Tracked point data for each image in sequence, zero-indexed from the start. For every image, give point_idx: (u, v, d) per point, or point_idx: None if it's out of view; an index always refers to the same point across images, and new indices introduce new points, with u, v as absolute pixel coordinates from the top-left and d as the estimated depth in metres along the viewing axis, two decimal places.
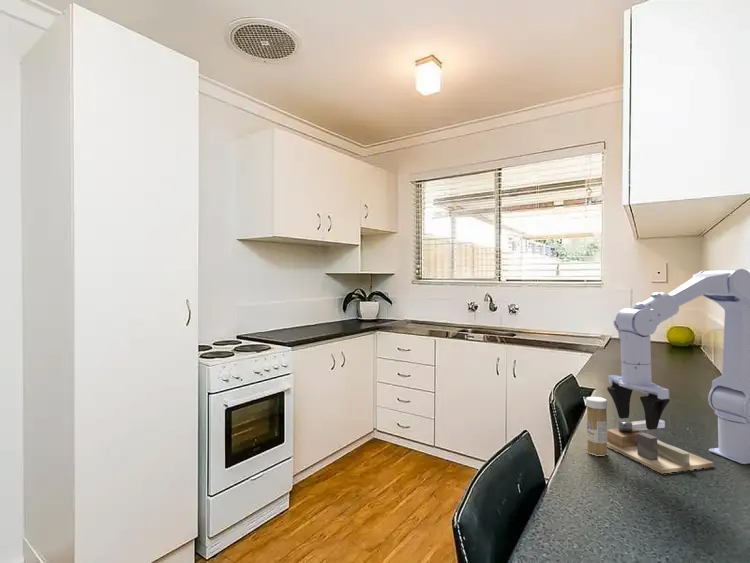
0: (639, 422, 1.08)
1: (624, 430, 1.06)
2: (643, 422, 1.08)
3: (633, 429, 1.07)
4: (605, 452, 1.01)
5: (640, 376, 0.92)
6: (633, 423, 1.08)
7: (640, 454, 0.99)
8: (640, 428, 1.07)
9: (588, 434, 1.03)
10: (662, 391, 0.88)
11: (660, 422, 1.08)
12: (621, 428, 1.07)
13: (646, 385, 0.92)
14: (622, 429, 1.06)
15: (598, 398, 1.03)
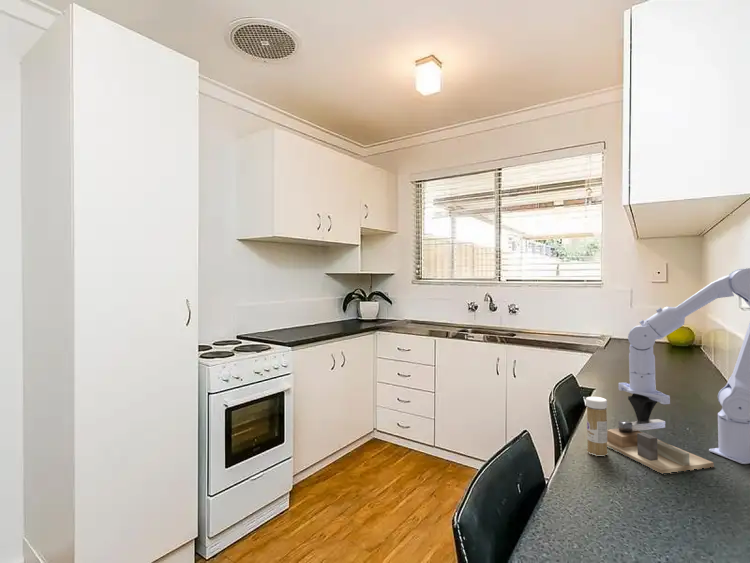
0: (639, 422, 1.08)
1: (624, 430, 1.06)
2: (643, 422, 1.08)
3: (633, 429, 1.07)
4: (605, 452, 1.01)
5: (645, 384, 1.08)
6: (633, 423, 1.08)
7: (640, 454, 0.99)
8: (640, 428, 1.07)
9: (588, 434, 1.03)
10: (664, 397, 1.03)
11: (660, 422, 1.08)
12: (621, 428, 1.07)
13: (650, 392, 1.07)
14: (622, 429, 1.06)
15: (598, 398, 1.03)
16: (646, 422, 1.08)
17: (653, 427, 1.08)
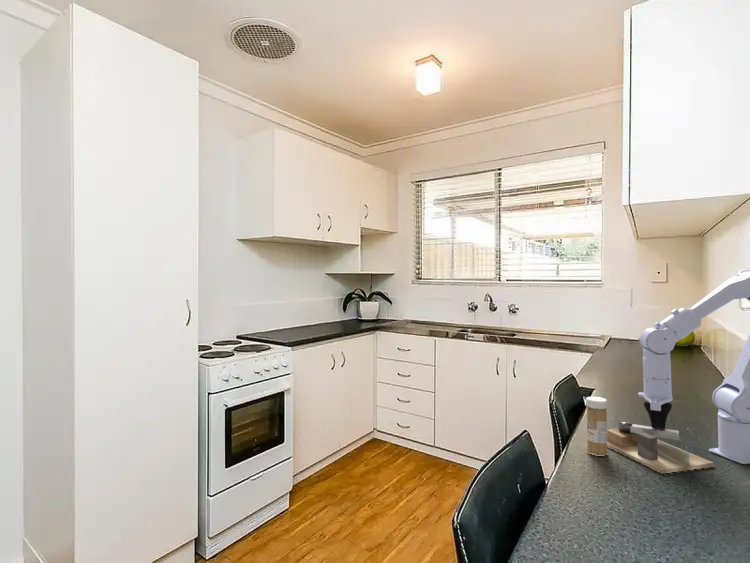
0: (645, 427, 1.05)
1: (619, 429, 1.07)
2: (649, 428, 1.04)
3: (631, 430, 1.06)
4: (605, 452, 1.01)
5: (649, 389, 1.03)
6: (635, 425, 1.06)
7: (640, 454, 0.99)
8: (641, 432, 1.04)
9: (588, 434, 1.03)
10: (651, 403, 0.99)
11: (672, 433, 1.01)
12: None
13: (655, 398, 1.02)
14: None
15: (598, 398, 1.03)
16: (653, 428, 1.04)
17: (660, 435, 1.02)
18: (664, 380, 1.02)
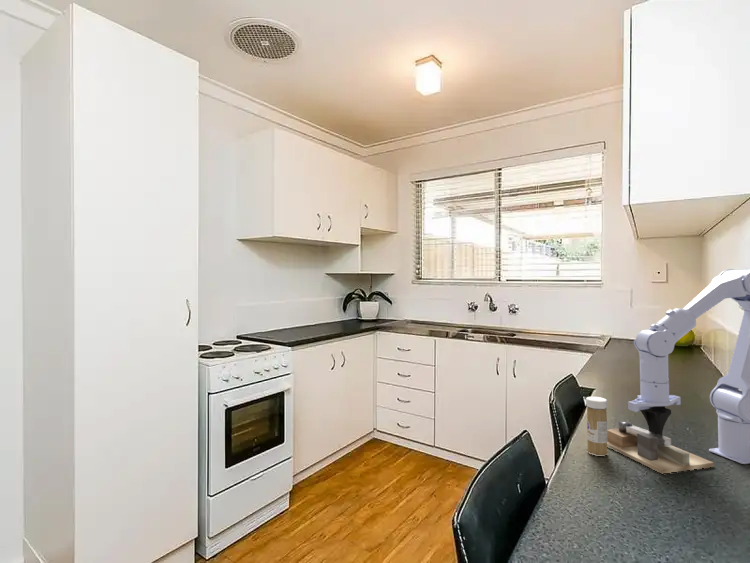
0: (640, 429, 1.03)
1: None
2: (643, 430, 1.02)
3: (627, 431, 1.06)
4: (605, 452, 1.01)
5: (641, 391, 1.02)
6: (632, 427, 1.05)
7: (640, 454, 0.99)
8: (635, 433, 1.04)
9: (588, 434, 1.03)
10: (629, 403, 0.99)
11: (659, 438, 0.98)
12: None
13: (644, 400, 1.00)
14: None
15: (598, 398, 1.03)
16: (645, 432, 1.01)
17: None
18: (653, 383, 0.99)
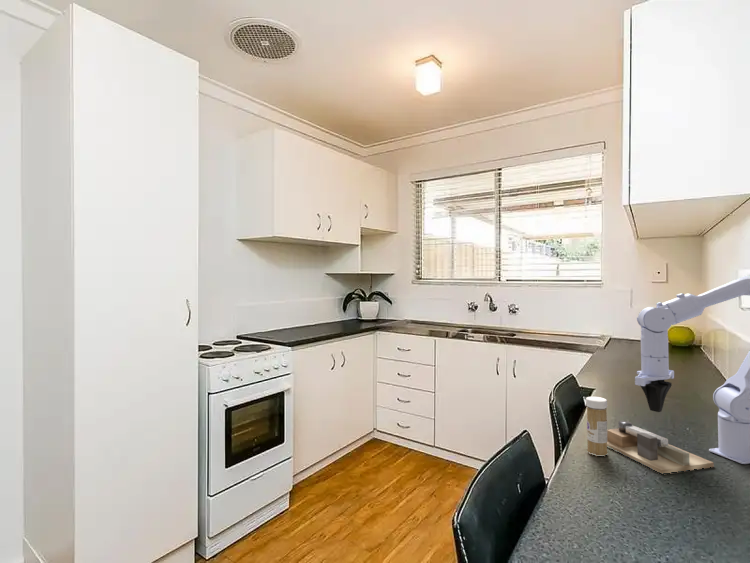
0: (639, 429, 1.03)
1: None
2: (641, 431, 1.02)
3: (626, 431, 1.06)
4: (605, 452, 1.01)
5: (643, 366, 1.05)
6: (632, 427, 1.05)
7: (640, 454, 0.99)
8: (633, 433, 1.04)
9: (588, 434, 1.03)
10: (636, 378, 1.02)
11: None
12: None
13: (647, 375, 1.04)
14: None
15: (598, 398, 1.03)
16: (644, 432, 1.01)
17: None
18: (656, 358, 1.03)
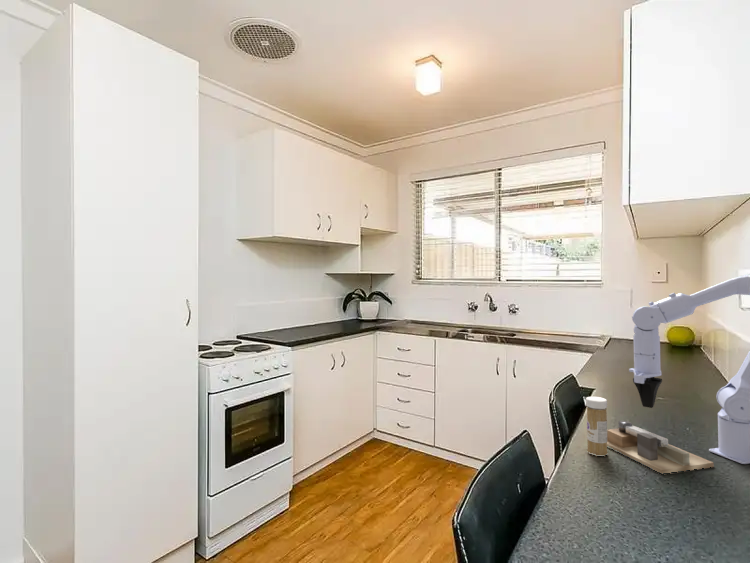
0: (639, 429, 1.03)
1: None
2: (641, 431, 1.02)
3: (626, 431, 1.06)
4: (605, 452, 1.01)
5: (638, 364, 1.08)
6: (632, 427, 1.05)
7: (640, 454, 0.99)
8: (633, 433, 1.04)
9: (588, 434, 1.03)
10: (635, 376, 1.04)
11: None
12: None
13: (642, 372, 1.07)
14: None
15: (598, 398, 1.03)
16: (644, 432, 1.01)
17: None
18: (651, 355, 1.06)
